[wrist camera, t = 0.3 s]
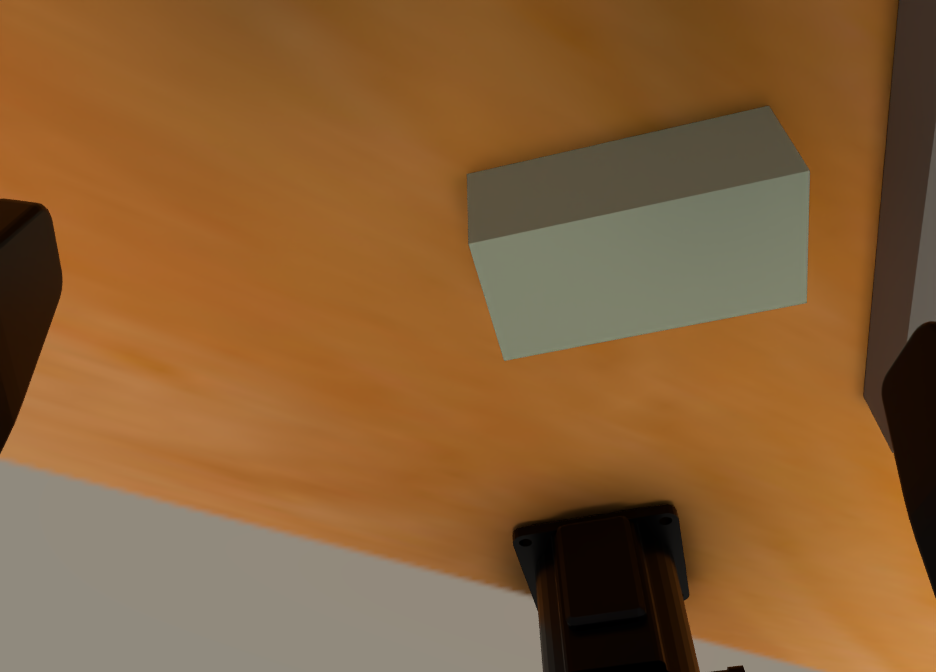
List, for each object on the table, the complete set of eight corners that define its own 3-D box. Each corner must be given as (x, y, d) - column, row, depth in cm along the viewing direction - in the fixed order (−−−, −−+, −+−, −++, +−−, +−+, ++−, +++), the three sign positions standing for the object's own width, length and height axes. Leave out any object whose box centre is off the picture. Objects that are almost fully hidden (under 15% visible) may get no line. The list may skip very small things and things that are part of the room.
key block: (767, 226, 24) (806, 303, 21) (498, 282, 25) (504, 360, 23) (766, 101, 21) (809, 171, 19) (466, 170, 23) (468, 243, 20)
